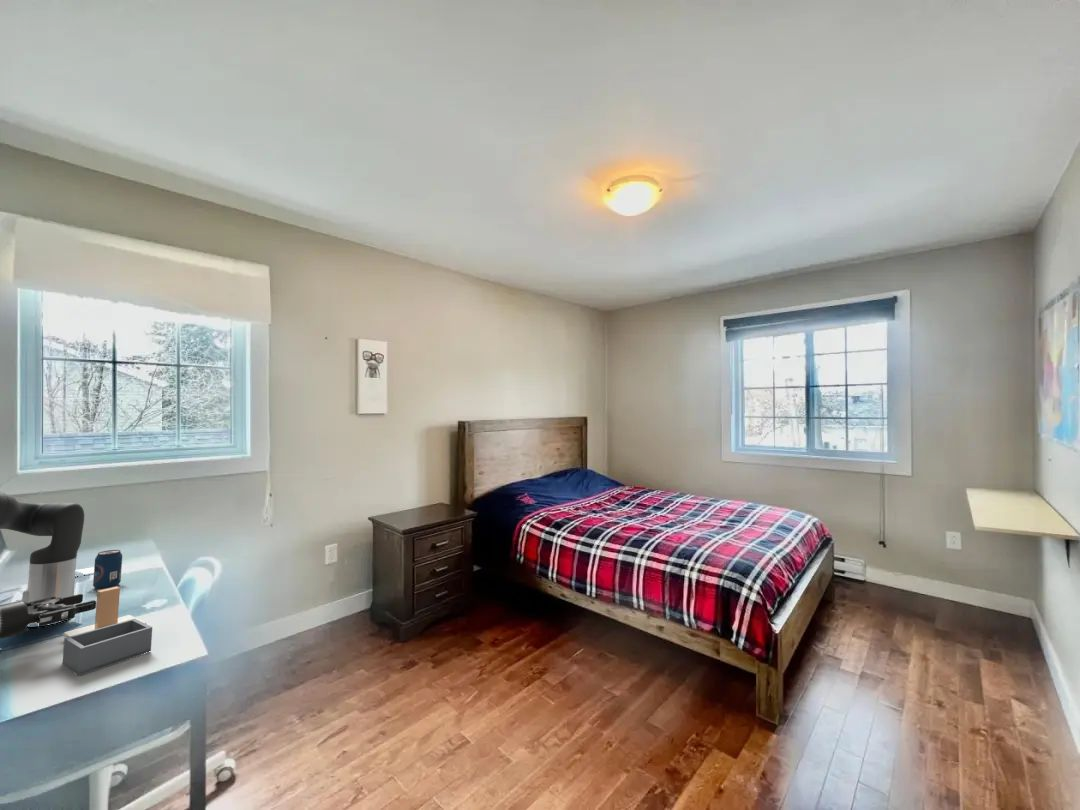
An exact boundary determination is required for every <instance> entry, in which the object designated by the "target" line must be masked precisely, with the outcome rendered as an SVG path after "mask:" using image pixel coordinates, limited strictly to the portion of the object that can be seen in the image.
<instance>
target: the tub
mask: <svg viewBox="0 0 1080 810" xmlns="http://www.w3.org/2000/svg"><path fill="white" fill-rule="evenodd" d="M139 620H140V619H139ZM139 620H136V619H131V620H127V621H124V622H120V623H117V624H113V625H110V626H106V627H102V628H99V629H95V630H92V631H88V632H84V633H81V634H77V635H74V636H70V637H66V638H65V637H64V639H63V652H62V666H64V667H65V668H66V669H68V670H70V671H71V672H72V673H74V674H75V675H77V676H78V677H80V676H83V675H86V674H91V673H93V672H95V671H99V670H101V669H105V668H107V667H110V665H111V666H113V664H114V665H117V664H119V662H120V663H122V662H125V661H128V660H131V659H133V657H134V658H137V657H139V655H140V656H142V655H141V654H143V655H145V654H144V653H146V652H149V651H152V639H153V638H152V637H153V626H151V625H148V624H147V623H146V624H145V623H143V622H141V621H139ZM149 653H150V652H149ZM146 654H147V653H146ZM136 656H137V657H136ZM130 658H131V659H130ZM127 659H128V660H127ZM124 660H125V661H124ZM116 663H117V664H116ZM104 667H105V668H104Z"/></svg>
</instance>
